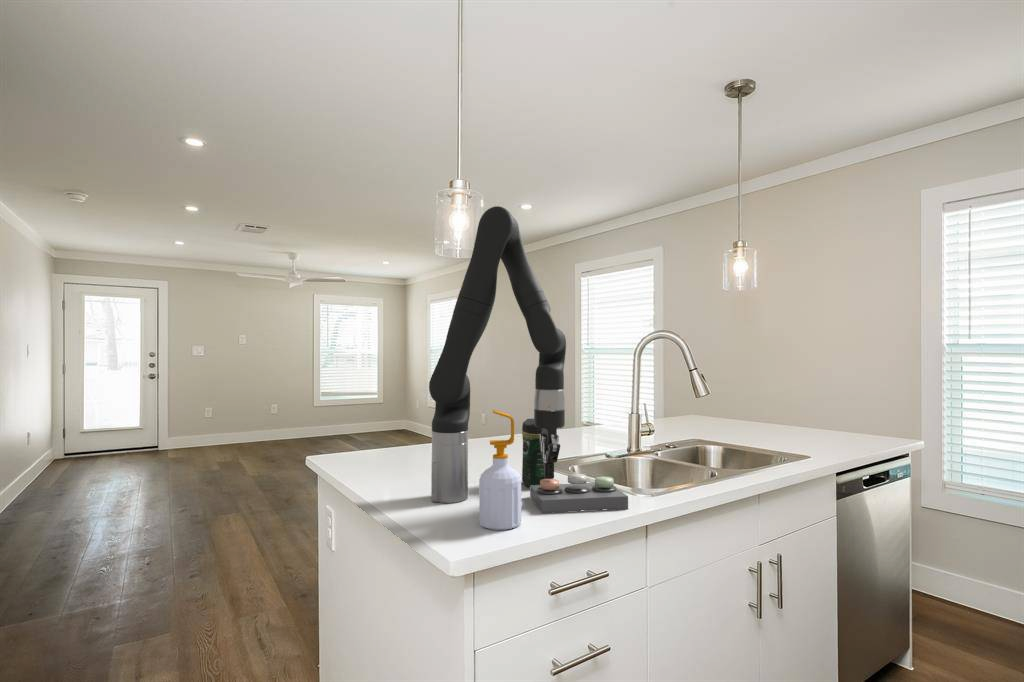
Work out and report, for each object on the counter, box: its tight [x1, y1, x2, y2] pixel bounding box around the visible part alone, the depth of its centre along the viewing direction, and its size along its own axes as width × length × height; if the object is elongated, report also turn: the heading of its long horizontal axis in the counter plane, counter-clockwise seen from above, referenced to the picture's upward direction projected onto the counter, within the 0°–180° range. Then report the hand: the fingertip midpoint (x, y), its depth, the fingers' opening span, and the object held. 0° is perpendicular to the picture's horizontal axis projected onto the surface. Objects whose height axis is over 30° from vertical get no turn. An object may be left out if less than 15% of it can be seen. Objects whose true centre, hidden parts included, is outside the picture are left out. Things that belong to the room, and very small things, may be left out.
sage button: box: [594, 476, 615, 487], centre depth 131 cm, size 5×5×2 cm
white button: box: [567, 473, 588, 484], centre depth 130 cm, size 5×5×2 cm
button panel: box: [529, 482, 629, 514], centre depth 130 cm, size 21×14×4 cm, turn 99°
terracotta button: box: [540, 478, 560, 490], centre depth 129 cm, size 5×5×2 cm
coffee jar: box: [521, 418, 546, 488], centre depth 148 cm, size 10×8×19 cm
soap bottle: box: [478, 409, 522, 531], centre depth 114 cm, size 9×9×25 cm
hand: (549, 478), depth 129 cm, fingers closed
